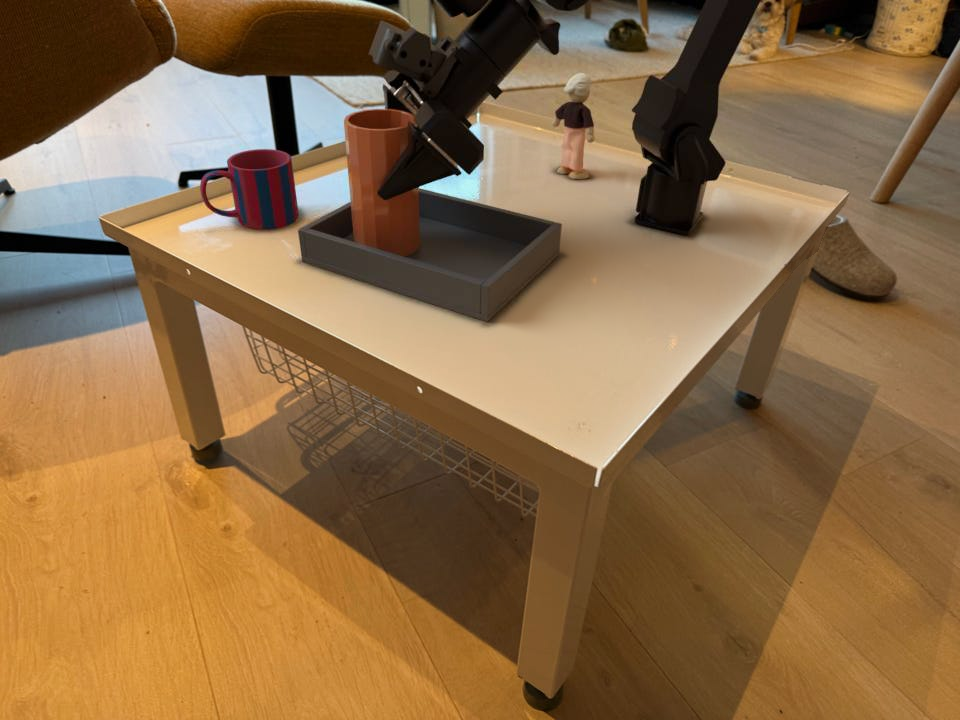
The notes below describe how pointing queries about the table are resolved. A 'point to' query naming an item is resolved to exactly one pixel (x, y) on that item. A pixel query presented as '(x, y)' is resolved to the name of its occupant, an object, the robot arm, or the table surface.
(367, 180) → the tumbler
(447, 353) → the table surface
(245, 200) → the mug
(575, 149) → the grandmother figurine
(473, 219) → the dark grey shallow tray
